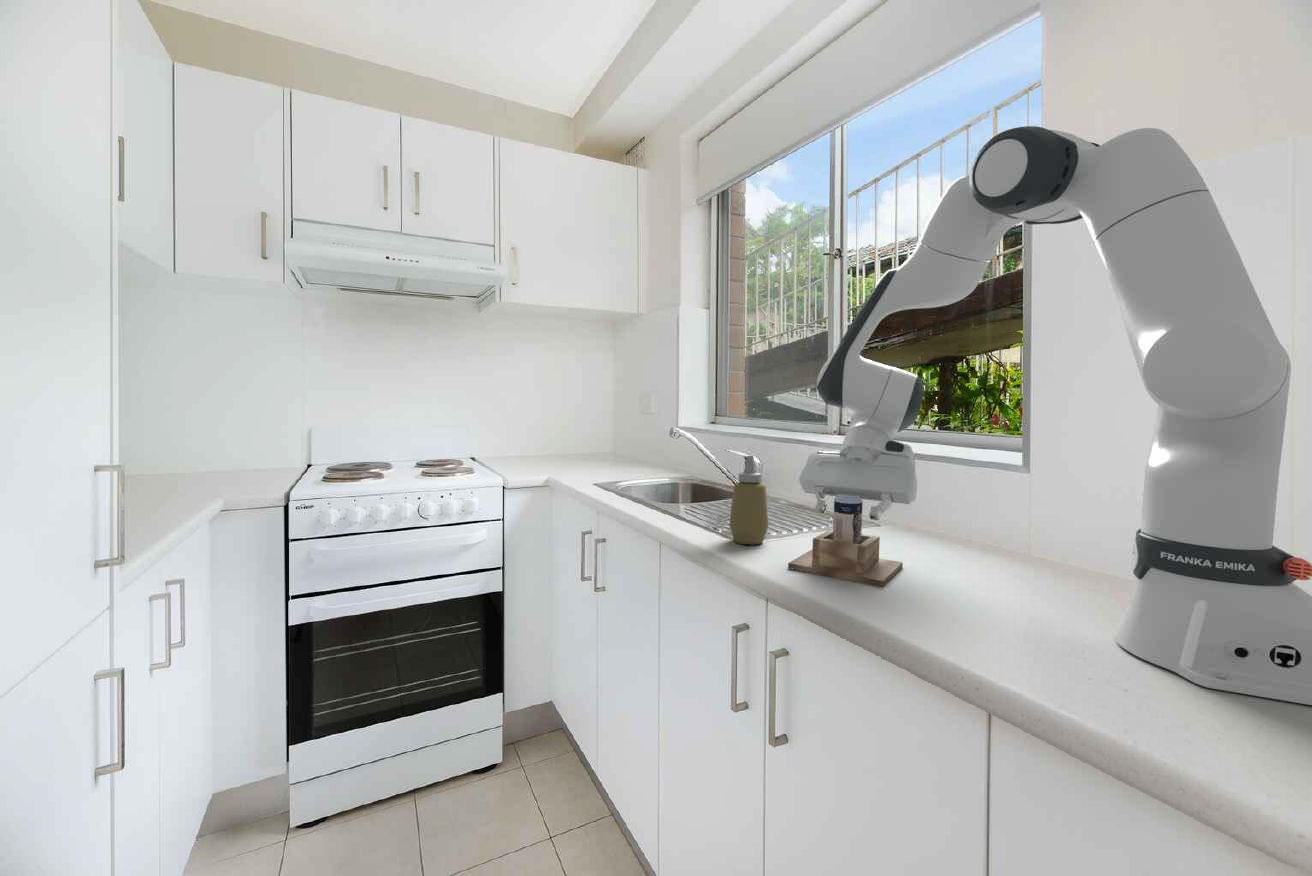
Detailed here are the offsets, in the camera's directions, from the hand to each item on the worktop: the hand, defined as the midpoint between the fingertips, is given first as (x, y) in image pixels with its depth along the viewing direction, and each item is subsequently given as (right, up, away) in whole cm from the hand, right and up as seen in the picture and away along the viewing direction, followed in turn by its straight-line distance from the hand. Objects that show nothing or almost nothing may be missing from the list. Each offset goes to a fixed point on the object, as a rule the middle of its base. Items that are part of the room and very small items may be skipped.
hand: (846, 514), depth 100 cm
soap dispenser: (-14, -8, +19) cm, 25 cm away
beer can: (0, -9, +1) cm, 9 cm away
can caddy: (0, -10, +1) cm, 10 cm away
